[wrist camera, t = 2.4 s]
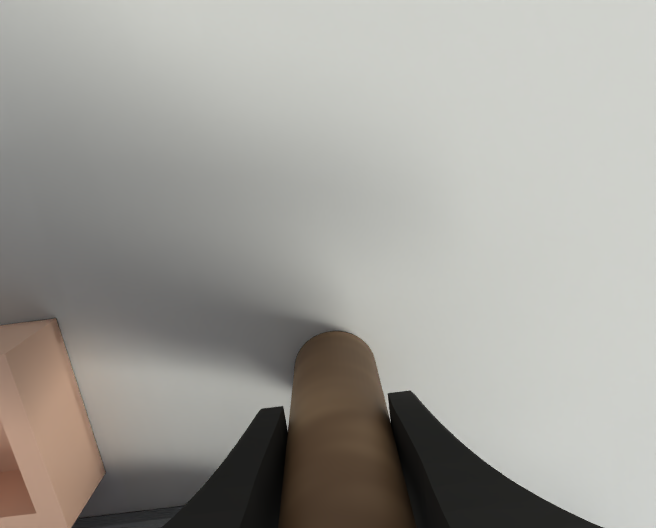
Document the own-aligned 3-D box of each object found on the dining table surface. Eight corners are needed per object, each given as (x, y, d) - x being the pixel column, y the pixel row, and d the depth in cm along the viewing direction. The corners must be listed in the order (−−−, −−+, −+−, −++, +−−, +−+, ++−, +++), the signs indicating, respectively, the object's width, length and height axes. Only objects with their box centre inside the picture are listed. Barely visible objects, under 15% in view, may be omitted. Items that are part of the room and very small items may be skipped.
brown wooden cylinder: (371, 326, 15) (464, 664, 5) (379, 398, 16) (472, 804, 6) (289, 336, 15) (237, 689, 5) (301, 407, 16) (273, 826, 6)
